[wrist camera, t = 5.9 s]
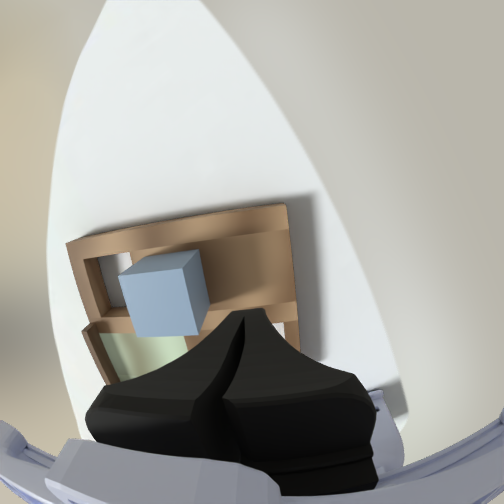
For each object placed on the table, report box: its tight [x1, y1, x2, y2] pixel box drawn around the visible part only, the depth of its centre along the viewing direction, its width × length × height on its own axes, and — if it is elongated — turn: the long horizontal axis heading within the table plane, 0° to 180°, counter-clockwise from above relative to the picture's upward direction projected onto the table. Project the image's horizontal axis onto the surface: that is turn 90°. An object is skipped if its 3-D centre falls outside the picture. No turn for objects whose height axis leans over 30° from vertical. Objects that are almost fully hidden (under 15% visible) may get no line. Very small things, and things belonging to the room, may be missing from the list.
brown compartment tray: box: [66, 203, 300, 385], centre depth 19 cm, size 17×14×4 cm
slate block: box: [118, 249, 210, 337], centre depth 16 cm, size 4×4×4 cm
